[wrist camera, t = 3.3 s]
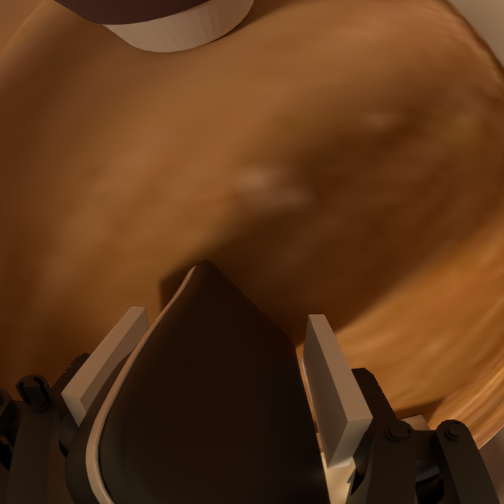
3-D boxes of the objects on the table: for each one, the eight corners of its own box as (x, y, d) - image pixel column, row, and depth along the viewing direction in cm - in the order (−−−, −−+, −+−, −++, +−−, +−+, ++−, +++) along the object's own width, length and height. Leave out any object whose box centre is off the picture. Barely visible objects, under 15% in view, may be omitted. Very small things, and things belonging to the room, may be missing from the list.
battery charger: (153, 300, 14) (26, 494, 2) (204, 251, 13) (73, 491, 2) (246, 382, 15) (241, 576, 4) (299, 346, 14) (348, 559, 3)
